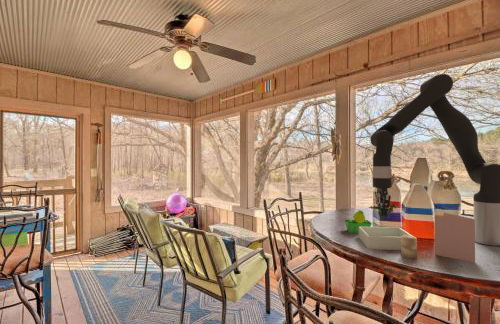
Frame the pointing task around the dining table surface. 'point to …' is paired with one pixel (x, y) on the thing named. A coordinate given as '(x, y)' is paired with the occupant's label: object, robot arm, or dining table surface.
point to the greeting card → (455, 237)
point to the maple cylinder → (409, 246)
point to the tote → (382, 237)
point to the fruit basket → (357, 222)
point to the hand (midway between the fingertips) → (382, 215)
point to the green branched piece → (387, 209)
